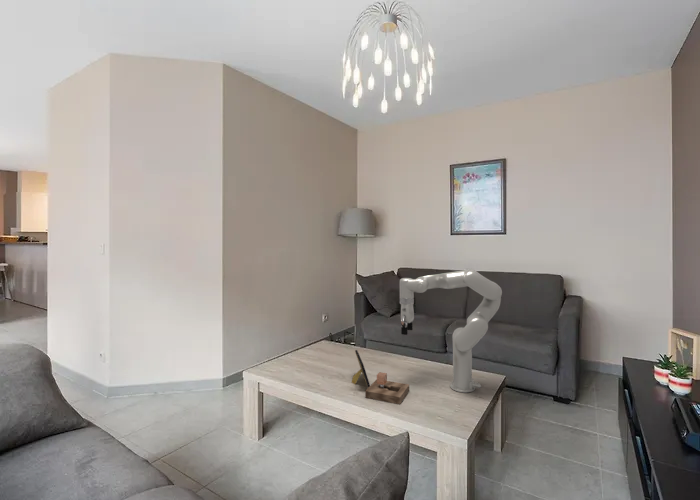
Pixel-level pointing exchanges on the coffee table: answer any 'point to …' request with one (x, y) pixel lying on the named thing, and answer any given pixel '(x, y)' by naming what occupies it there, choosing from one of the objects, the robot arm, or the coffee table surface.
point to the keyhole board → (388, 392)
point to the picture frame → (360, 371)
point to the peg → (381, 379)
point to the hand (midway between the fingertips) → (407, 332)
